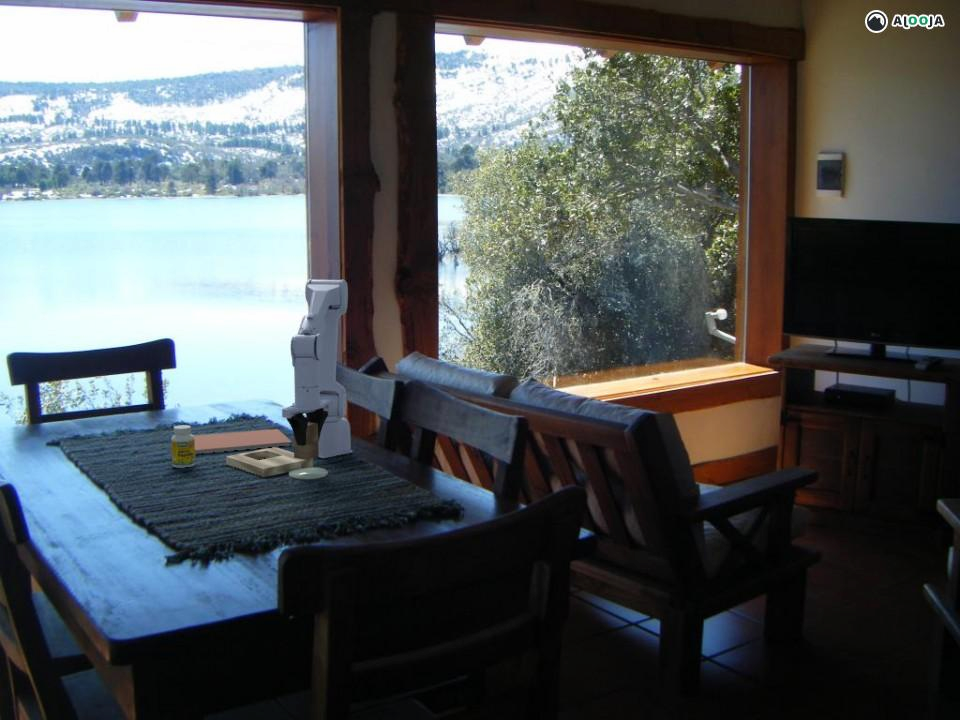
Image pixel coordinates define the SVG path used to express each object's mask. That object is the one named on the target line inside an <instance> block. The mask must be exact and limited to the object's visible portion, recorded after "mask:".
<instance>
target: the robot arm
mask: <svg viewBox="0 0 960 720" xmlns="http://www.w3.org/2000/svg"><path fill="white" fill-rule="evenodd" d="M304 290H305V291H304V292H305V293H304V294H305V296H304V297H305V300H306V302H307V305H308V309H309V310H308V313H306V314H305V315H304V316H303V317H302V319H301V323H300V325H299V328H298V331H297V334H295V336H292V337H291V340H290V356H291V360H292V361H291V363H292V364H291V365H292V367H293V368H294V369H293V371H294V373H293V375H294V379H293V380H294V382H293V383H294V402H292V405H289V406H288V407H285V408H282V409H281V413H282V414H281V417H282V418H283V419H285V420H287V422H288V424H289V426H290V427H291V430H292V432H293V437H294V436H295V439H296V443H297V445H301V446H305V444H306V431H307V425H308V422H313V423H318V451H319V457H318V458H319V459H327V458H332V457H338V456H342V455H347V454H350V453H353V450H352V449H351V448H352V447H351V446H352V445H351V439H352V438H351V424H350V422H349V420H348V419H347V418H346V414H347V409H348V406H347V405H348V404H347V403H348V402H347V391H346V388H345V387H344V386H343V385H342V384H341V383H339V382H338V381H337V377H336V376H337V361H338V360H337V359H338V356H337V355H338V340H339V339H338V338H339V335H338V334H339V322H340V318H341V316H343V315H345V314H347V309H348V301H349V300H348V299H349V288H348V282H347V281H346V280H345V279H312V278H309V279H308V280H307V281H306V283H305V287H304ZM337 455H338V456H337Z"/></svg>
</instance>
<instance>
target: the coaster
mask: <svg viewBox="0 0 960 720" xmlns="http://www.w3.org/2000/svg"><path fill="white" fill-rule="evenodd" d="M328 475H329V472H328V470H327V469H325V468H323V467H315V466H313V467H307V468H298V469H294V470H291V471H290V472H288V476H289V477H290V478H292V479H297V480H304V481H305V480H317V479H322V478H326V476H328Z"/></svg>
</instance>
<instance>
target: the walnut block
mask: <svg viewBox="0 0 960 720" xmlns="http://www.w3.org/2000/svg"><path fill="white" fill-rule="evenodd" d="M293 453H294V458H298V459H304V460H309V459H312V458H313V459H315V458H320V457H319V451H318V423H313V422H308V425H307V431H306V444H305V446H301V445H297V443H296V439H295V436H294V435H293Z"/></svg>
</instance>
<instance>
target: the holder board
mask: <svg viewBox="0 0 960 720" xmlns="http://www.w3.org/2000/svg"><path fill="white" fill-rule="evenodd" d="M225 458H226V461H225V463H226V466H230V467H233V468H235V467H236V469H238V468H239V470H241V469H242V470H241V471H244V470H245V472H248V473H250V472H251V474H253V473H254V475H256V474H257V475H256V476H259V475H260V477H261V478H266V476H267V477H272V476H276V475H280V474H285V473H289V472H290V471H291V470H294V469H298V468H307V467H314V458H312V459H309V460H304V459H298V458H294V451H293V452H292V451H289V450H286V449H283V448H281V447H272V448H261V449H256V450H251V451H247V452H242V453H237V454H232V455H227V456H226V457H225ZM264 458H265V459H264ZM259 459H260V460H259Z"/></svg>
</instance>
